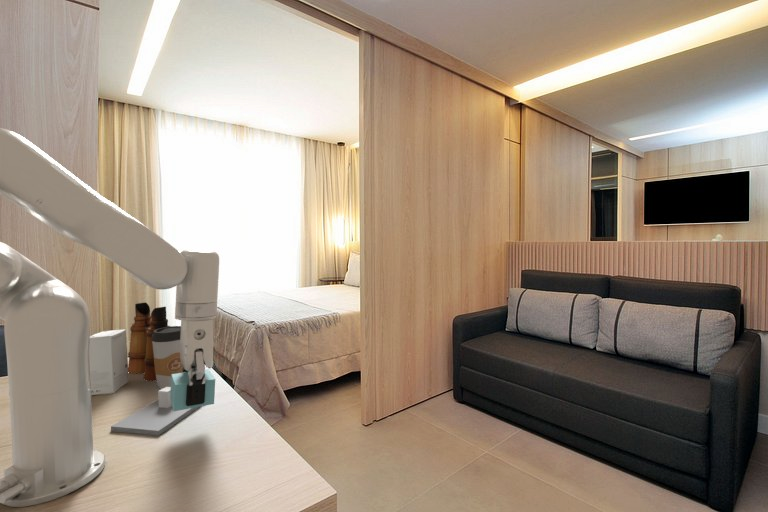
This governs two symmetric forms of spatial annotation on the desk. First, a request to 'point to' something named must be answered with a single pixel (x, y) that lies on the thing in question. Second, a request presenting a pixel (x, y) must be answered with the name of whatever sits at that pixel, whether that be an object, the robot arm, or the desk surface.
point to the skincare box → (108, 361)
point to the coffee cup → (166, 354)
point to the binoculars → (145, 339)
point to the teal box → (180, 388)
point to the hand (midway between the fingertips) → (192, 396)
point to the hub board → (153, 417)
